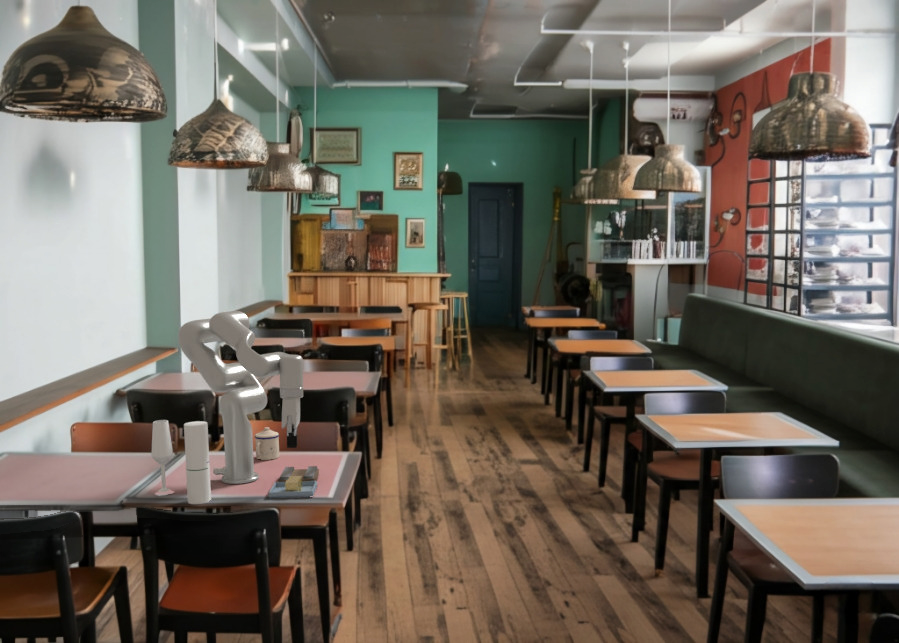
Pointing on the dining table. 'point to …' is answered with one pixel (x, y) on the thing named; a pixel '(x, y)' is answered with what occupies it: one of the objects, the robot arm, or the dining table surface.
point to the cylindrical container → (197, 462)
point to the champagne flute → (161, 447)
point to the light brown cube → (299, 480)
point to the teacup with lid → (267, 444)
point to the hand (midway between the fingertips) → (292, 447)
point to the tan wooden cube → (292, 485)
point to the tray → (280, 491)
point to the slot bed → (300, 473)
